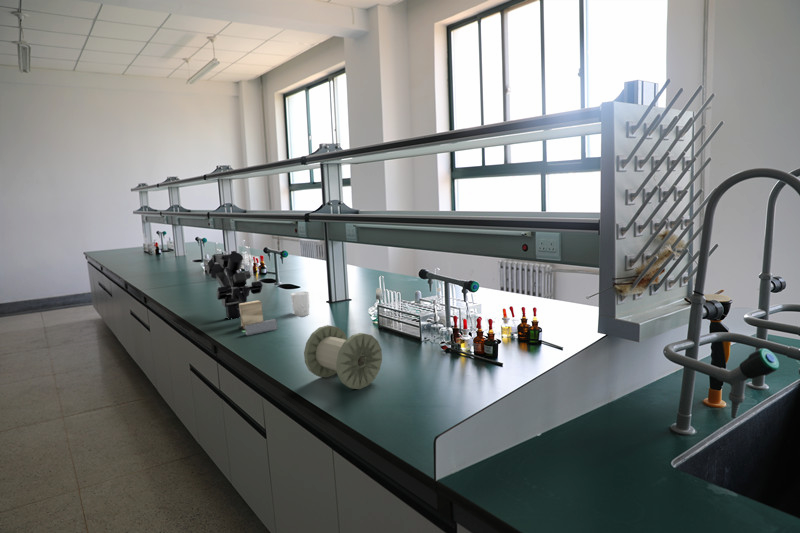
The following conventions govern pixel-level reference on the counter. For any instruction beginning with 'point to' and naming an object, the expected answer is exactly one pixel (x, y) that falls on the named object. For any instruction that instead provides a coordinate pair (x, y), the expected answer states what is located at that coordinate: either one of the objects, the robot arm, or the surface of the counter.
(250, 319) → the block
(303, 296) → the white cup
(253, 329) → the grey rectangular bar
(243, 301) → the robot arm
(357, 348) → the spool
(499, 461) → the counter surface
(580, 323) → the counter surface
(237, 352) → the counter surface
